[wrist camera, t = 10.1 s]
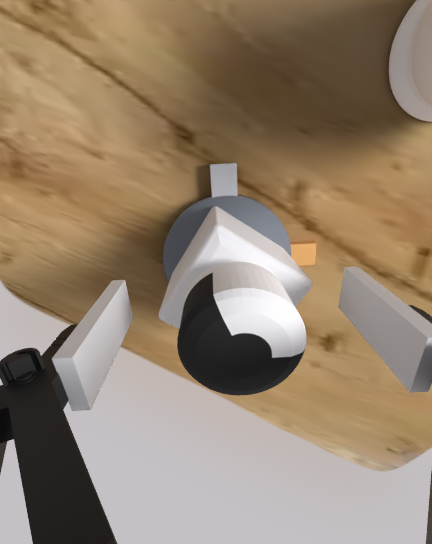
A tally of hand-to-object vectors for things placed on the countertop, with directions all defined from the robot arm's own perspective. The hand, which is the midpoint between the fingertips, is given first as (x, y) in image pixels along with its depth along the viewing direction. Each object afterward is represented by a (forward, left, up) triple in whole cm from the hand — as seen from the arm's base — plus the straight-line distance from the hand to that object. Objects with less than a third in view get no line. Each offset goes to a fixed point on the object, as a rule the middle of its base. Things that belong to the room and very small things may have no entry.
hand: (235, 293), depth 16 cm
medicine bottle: (+1, 0, -7) cm, 7 cm away
